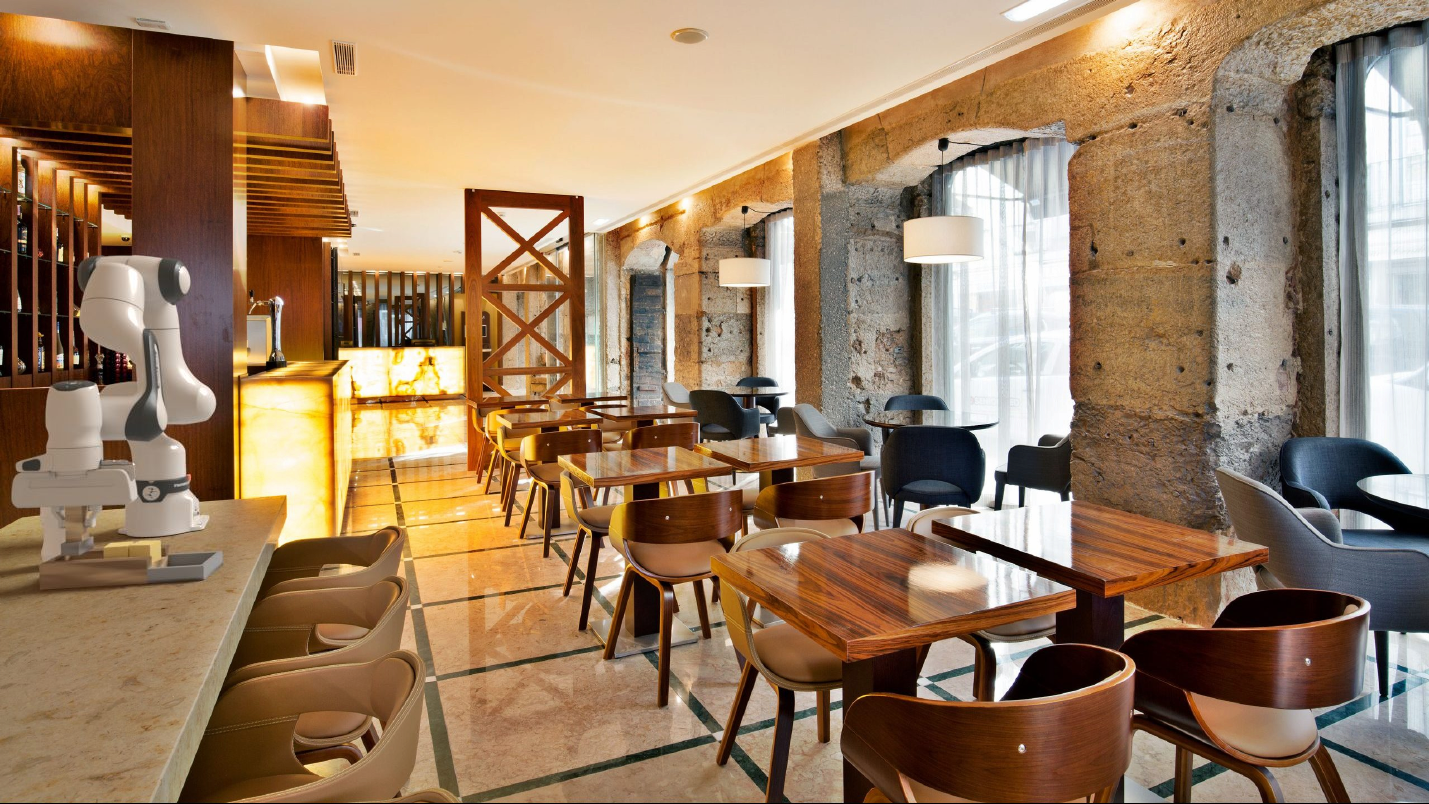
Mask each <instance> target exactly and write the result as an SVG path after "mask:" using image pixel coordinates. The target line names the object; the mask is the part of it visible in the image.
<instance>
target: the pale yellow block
mask: <svg viewBox="0 0 1429 804" xmlns="http://www.w3.org/2000/svg"><path fill="white" fill-rule="evenodd" d="M133 543H134V541H120V542H117V541H116V542H109V543H108V544H107V545H105V546H103V547H102V548H103V550H104V558H124V557H129V545H131V544H133Z"/></svg>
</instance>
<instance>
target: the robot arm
mask: <svg viewBox="0 0 1429 804" xmlns="http://www.w3.org/2000/svg"><path fill="white" fill-rule="evenodd" d="M76 274H77V275H76V276H77V277H76V279H77V282H78V283H77V284H78V286H79V288H80V290H81V291H82V292H83V295H82V299H81V304H80V305H81V306H80V310H79V325H80V328H81V331H82V332H83V334H84V335H85V336H86V337H87V338H88V339H89V340H91V341H92V342H94V343H95V344H98V345H99V346H101V347H104V348H106V349H109V350H112V351H115V352H118V353H121V354H124V355H126V356H128V358H129V360H130V362H132V363H133V364H135V372H136V375H135V376H136V381H125V382H118V383H113V384H108V385H105V387H104V388H103V389H102V390H101V391H100V390H99V388H98V385H97V383H96V382H92V381H89V380H76V379H75V380H67V381H59V382H56V383H54V384H51V385H50V387H49V389H48V393H47V397H46V402H45V403H46V405H45V428H46V430H47V432H48V439H47V442H46V447H45V448H46V452H45V453H43V454H38V455H35V456H34V457H31V458H26V459H23V460H20V461H17V462H16V463H15V470H16V471H17V472H18V473H17V474H16V475H15V476H14V478H13V480H12V484H11V485H12V486H11V503H12V505H13V506H14V507H15V508H16V509H24V508H25V509H26V508H27V509H31V508H33V509H34V508H40V507H51V513H52V514H53V515H54V517H55V518H56V519H57V520H58V528H59V529H62V528H65V515H64V514H63V512H62V511H63V510H65V506H88V512H91V513H90V514H89V515H88V518H86V519H83V523H84V525H83V526H84V528H86V527H89V528H94V527H96V525H97V517H98V516H99V514H100V513H101V512H102V511H103V506H125V507H124V526H123V527H120V528H118V530H117V533H118V534H121V535H122V534H123V535H127V536H129V537H136V538H139V537H140V538H144V537H145V538H147V537H148V538H151V537H152V538H153V537H163V536H164V537H165V536H171V535H172V536H173V535H177V534H178V535H179V534H182V533H183V534H184V533H188V532H194V531H200V530H201V531H202V530H203V529H205V527H206V525H207V524H208V522H209V520H210V515H209V514H207V515H206V514H200V500H199V498H197V497H196V495H194V493H193V492H192V491H191V490H190V488H191V487H190V482H191V478H192V476H191V474H190V473H189V474H187V467H186V466H187V464H186V463H187V461H186V460H187V459H186V457H187V456H186V449H185V447H184V445H183V443H181V442H179V440H176V439H175V438H172V437H170V436H168V435H167V434H166V433H165V431H166V430H167V427H168V425H189V424H196V423H202V422H205V421H208V420H209V419H210V418H211V417H212V415H213V414H214V413H215V411H216V407H217V399H216V396H215V394H214V392H213V391H212V389H211V388H210V387H209V386H207V385H205V384H204V383H203V382H201V381H200V380H198V378H197V377H196V376H194V374H193V373H192V372H191V370H190V369H189V367H188V366H187V364H186V361H185V358H184V355H183V350H182V342H181V331H180V321H179V320H180V319H179V313H178V309H177V306H176V305H177V304H178V303H179V301H182V300H183V299H185V298H186V296H187V295H188V293H189V292H190V288H191V277H190V276H191V275H190V273H189V270H188V268H187V266H186V265H185V264H184V263H183V262H182V261H181V260H178V259H176V258H170V257H156V256H149V255H147V256H146V255H138V254H137V255H136V254H135V255H134V254H133V255H108V256H105V255H94V256H93V255H92V256H90V257H89V256H88V257H86V258H84V259H83V260H82V261H81V262H80V263H79V264H78V267H77V273H76ZM99 391H100V392H99ZM103 441H127V443H128V445H129V448H130V453H131V460H132V461H128V460H127V459H116V460H115V459H104V443H103Z"/></svg>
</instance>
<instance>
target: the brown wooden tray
mask: <svg viewBox="0 0 1429 804" xmlns="http://www.w3.org/2000/svg"><path fill="white" fill-rule="evenodd" d="M103 548H104V547H94V548H93V549H91V550H89V551H87V552H85V553H83V554H81V555H76V556H61V554H60V555H58V556H56V557H54V558H52V559H50V560H48V561H46V562H44V563H43V562H42V563H40V564H39V565H38V573H39V590H40V591H43V590H55V589H57V590H58V589H59V590H61V589H76V588H90V587H108V586H109V587H110V586H125V585H127V586H128V585H142V584H143V585H144V584H148V583H147V569H148V568H156V567H168V566H169V554H171V544H161V559H160V560H158V561H156V562H153V563H152V556H144V557H124V558H104V550H103Z"/></svg>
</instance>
